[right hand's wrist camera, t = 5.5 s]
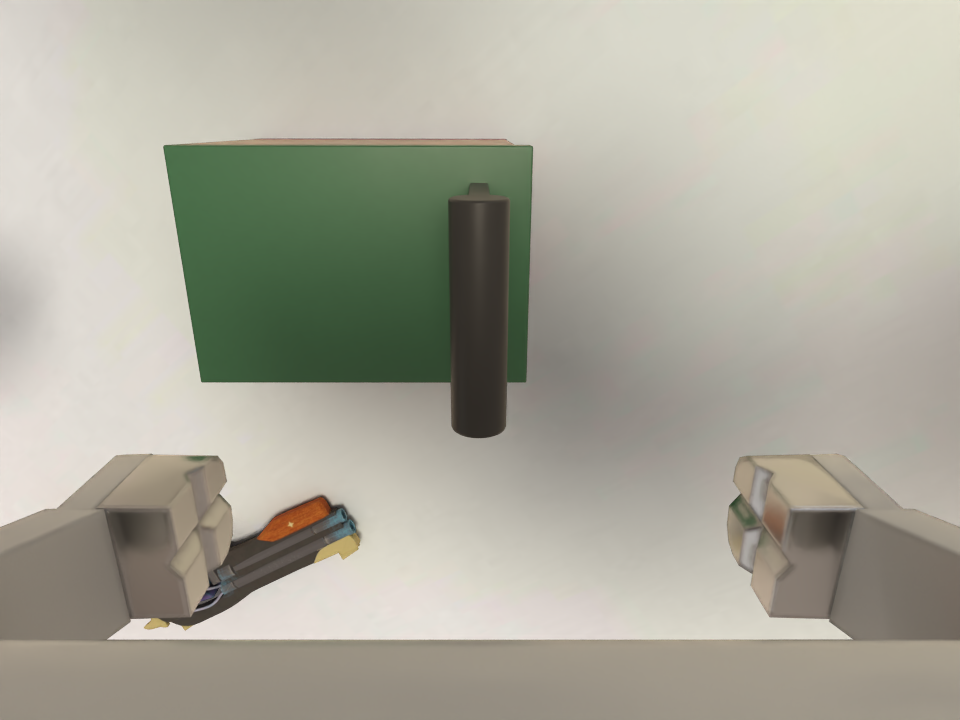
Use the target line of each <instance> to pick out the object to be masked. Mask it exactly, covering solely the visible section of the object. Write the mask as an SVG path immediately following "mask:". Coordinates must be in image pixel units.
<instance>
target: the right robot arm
mask: <svg viewBox="0 0 960 720" xmlns="http://www.w3.org/2000/svg"><path fill="white" fill-rule="evenodd" d="M226 482H227V479H226V474H225V469H224V464H223V462H222V460H221V459H220V458H219V457H218V456H206V455H153V454H129V455H116V456H115V457H114V458H113V459H112V460H111V461H109V462H108V463H107V464H106V465H105V466H104V467H103V468H102V469H100V470H99V471H98V472H97V473H96V474H95V475H94V476H93V477H92V478H90V479H89V480H88V481H87V482H86V483H85V484H84V485H83V486H82V487H80V488H79V489H78V490H77V491H76V492H75V493H74V494H73V495H71V496H70V497H69V498H68V499H67V500H66V501H65V502H64V503H63V504H61V505H60V506H59V507H58V508H57V509H45V510H42V511H40V512H37V513H35V514H32V515H30V516H27V517H25V518H22V519H19V520H17V521H14V522H12V523H9V524H7V525H4V526H2V527H0V720H960V527H958V526H955V525H953V524H950V523H948V522H945V521H943V520H940V519H938V518H935V517H933V516H930V515H928V514H925V513H923V512H920V511H918V510H915V509H903V508H902V507H901V506H900V505H899V504H897V503H896V502H895V501H894V500H893V499H892V498H891V497H890V496H889V495H887V494H886V493H885V492H884V491H883V490H882V489H881V488H880V487H879V486H877V485H876V484H875V483H874V482H873V481H872V480H871V479H870V478H869V477H867V476H866V475H865V474H864V473H863V472H862V471H861V470H860V469H859V468H857V467H856V466H855V465H854V464H853V463H852V462H851V461H850V460H849V459H847V458H846V457H845V456H842V455H839V454H819V455H810V454H805V455H763V456H744V457H740V458H739V460H738V462H737V465H736V467H735V473H734V479H733V482H734V483H735V485H736V487H737V488H738V490H739V491H740V493H741V494H740V495H739V496H738V497H737V498H736V499H735V500H734V501H733V502H732V503H731V504H730V505H729V511H728V520H727V531H728V541H729V545H730V548H731V551H732V554H733V556H734V558H735V559H736V561H737V563H738V565H739V566H741V567H742V568H744V569H745V570H747V571H749V572H750V573H752V580H751V587H752V589H753V590H754V592H755V594H756V595H757V597H758V599H759V600H760V602H761V604H762V605H763V607H764V609H765V610H766V612H767V614H768V615H769V617H778V618H815V619H830V620H829V622H831V623H832V624H833V625H835V626H836V627H837V628H839V629H840V630H841V631H843V632H844V633H845V634H847V635H848V636H849V637H851V638H852V639H854V640H107V639H108V638H109V637H111V636H112V635H113V634H115V633H116V632H117V631H119V630H120V629H122V628H123V627H124V626H126V625H127V624H128V623H130V621H131V620H130V619H144V618H180V617H191V616H192V614H193V612H194V611H195V609H196V607H197V606H198V604H199V602H200V600H201V599H202V597H203V595H204V594H205V592H206V590H207V589H208V587H209V580H208V573H210V572H211V571H213V570H215V569H216V568H218V567H219V566H221V565H222V563H223V561H224V559H225V558H226V556H227V554H228V551H229V547H230V543H231V539H232V535H233V517H232V510H231V506H230V504H229V503H228V502H227V501H226V500H225V499H224V498H223V497H222V496H221V495H220V494H219V493H220V491H221V490H222V488H223V487H224V485H225V483H226Z"/></svg>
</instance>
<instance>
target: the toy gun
mask: <svg viewBox="0 0 960 720" xmlns="http://www.w3.org/2000/svg"><path fill="white" fill-rule="evenodd" d="M359 543H360V539H359V537H358V536H357V534H356V528H355V524H354V523H353V521H352V520H350V519H349V520H347V514H346V512H345V511H344V509H343V508H340V509H337V508H335V509H332V510H331V508H330V506H329V505H328V503H327V502H326V500H325V499H324V498H322V497H319V498H317V499H315V500H312V501H310V502H308V503H305V504H303V505H301V506H298V507H296V508H294V509H292V510H289V511H287V512H285V513H283V514H280V515H278V516H276V517H275V518H273V519H272V520H271V522H270V523H269V524H268V525H267V526H266V528H265V529H264V530H263V531H262V532H261V534H260V535H259V536H257V537H254V538H252V539H250V540H248V541H246V542H244V543H242V544H239V545H237V546H233V547H230V548H229V551H228V554H227V556H226V558H225V559H224V561H223V563H222V565H221V566H219V567H218V568H216V569H215V570H213V571H211V572H210V573H208V580H209V587H208V589H207V590H206V592H205V594H204V595H203V597H202V599H201V600H200V602H201V601H204V600H207V599H210V598H213V597H214V596H215V594H216V592H217V591H218V589H219V588H220V587H221V591H222V593H221V594H220V595H219V596H218V597H216V598H214V599H212V600H210V601H208V602H206V603H203V604H200V605H198V606H197V607H196V609H195V611H194V612H193V614H192V616H191V617H180V618H151V621H150V622H149V623H148V624H147V625H146V626H145V627H144V628H145V629H154V628H158V627H168V626H169V624H170V623H169V622H173V623H175V624H178V625H181V626H182V627H183V628H184V630H187V629H188V628H190V627H191V626H193V625H195V624H197V623H200V622H202V621H204V620H206V619H208V618H211V617H213V616H215V615H217V614H219V613H221V612H223V611H225V610H227V609H229V608H230V607H232V606H234V605H235V604H237V603H238V602H239V601H241V600H242V599H243V598H245V597H246V596H247V595H249V594H250V593H251V592H253V591H255V590H257V589H259V588H261V587H263V586H265V585H267V584H269V583H271V582H273V581H276V580H278V579H280V578H282V577H284V576H286V575H288V574H290V573H292V572H295V571H297V570H299V569H301V568H303V567H306V566H308V565H310V564H313V563H316V562H319V561H321V560H323V559H326V558H328V557H330V556H332V555H335V554H337V553H339V554H340V556H341V557H342V559H345V558H346V557H348V556H349V555H351V554H352V553H354V552H355V551H357V550H358V546H360V544H359Z"/></svg>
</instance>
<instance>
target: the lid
mask: <svg viewBox="0 0 960 720" xmlns="http://www.w3.org/2000/svg"><path fill="white" fill-rule="evenodd" d="M163 148H164V154H165V160H166V166H167V173H168V179H169V185H170V191H171V197H172V203H173V210H174V216H175V222H176V228H177V234H178V241H179V247H180V253H181V259H182V265H183V272H184V278H185V284H186V290H187V296H188V303H189V309H190V315H191V321H192V327H193V333H194V340H195V346H196V352H197V358H198V364H199V371H200V377H201V382H451V424H452V428H453V430H454V431H455V432H456V433H458V434H460V435H462V436H466V437H471V438H487V437H492V436H495V435H498V434H500V433H501V432H503V431H504V429H505V427H506V405H507V382H526V373H527V338H528V304H529V269H530V234H531V200H532V165H533V146H530V145H215V144H177V145H164V147H163Z"/></svg>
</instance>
